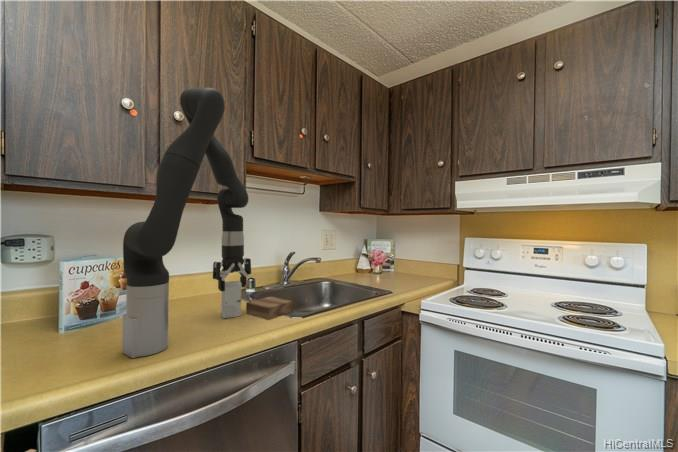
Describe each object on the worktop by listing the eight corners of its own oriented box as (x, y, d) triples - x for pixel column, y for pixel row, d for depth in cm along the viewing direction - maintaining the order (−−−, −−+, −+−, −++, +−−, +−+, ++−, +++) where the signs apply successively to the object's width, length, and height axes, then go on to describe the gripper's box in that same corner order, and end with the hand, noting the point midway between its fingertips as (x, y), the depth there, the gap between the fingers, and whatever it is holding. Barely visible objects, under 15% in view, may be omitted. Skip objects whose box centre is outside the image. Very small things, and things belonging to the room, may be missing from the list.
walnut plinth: (268, 319, 100) (268, 308, 100) (246, 313, 107) (246, 302, 107) (292, 311, 110) (292, 301, 110) (270, 306, 117) (270, 296, 117)
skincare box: (223, 318, 100) (223, 284, 100) (220, 315, 104) (221, 281, 104) (241, 316, 104) (242, 282, 104) (238, 312, 107) (238, 280, 107)
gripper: (221, 245, 96) (221, 294, 96) (255, 243, 108) (255, 286, 108) (208, 244, 100) (208, 291, 100) (242, 242, 112) (242, 284, 112)
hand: (232, 288), depth 104 cm, fingers open, 8 cm apart
